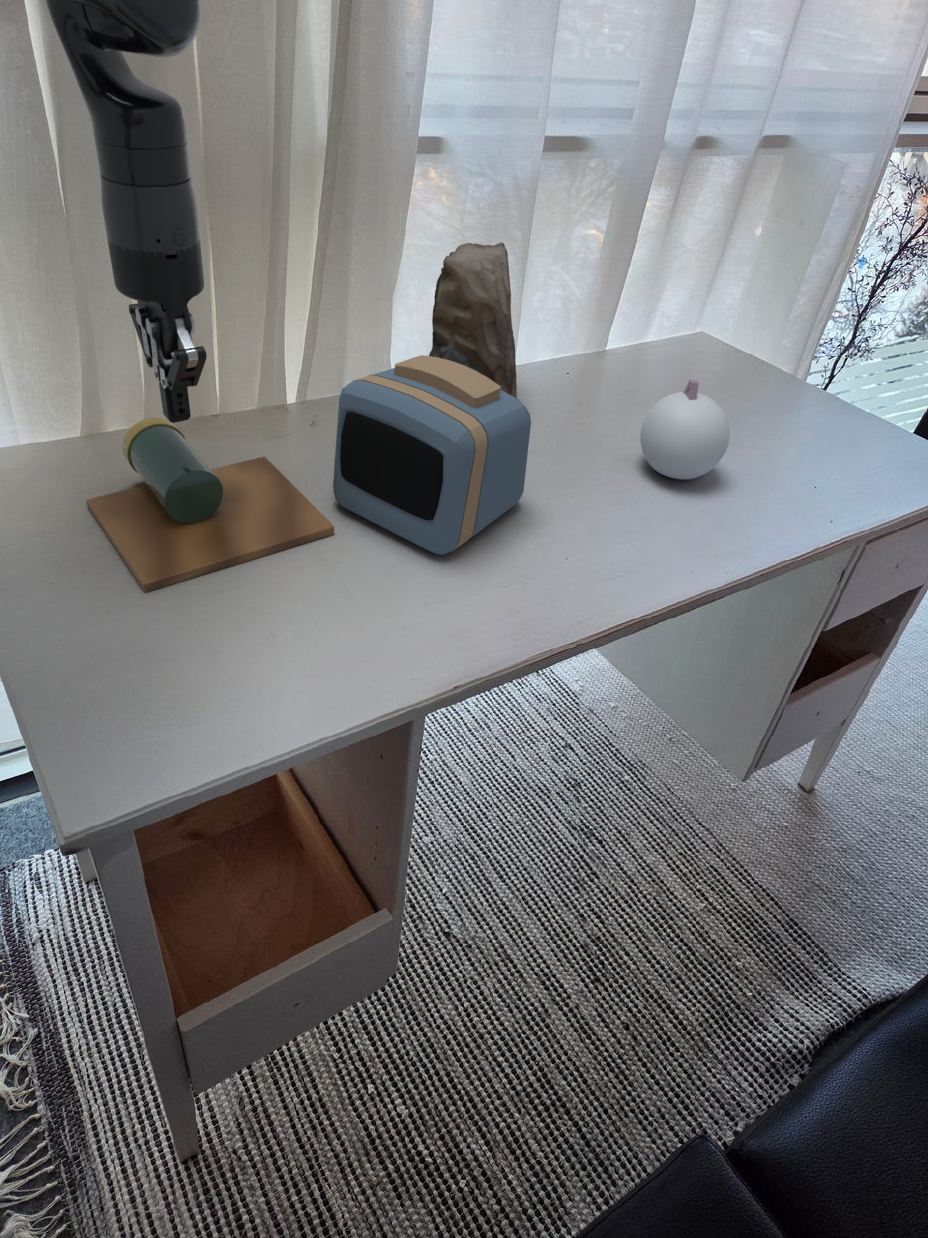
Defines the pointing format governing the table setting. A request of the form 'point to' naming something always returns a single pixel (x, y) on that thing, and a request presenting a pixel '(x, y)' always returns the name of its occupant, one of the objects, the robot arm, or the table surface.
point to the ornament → (685, 434)
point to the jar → (172, 470)
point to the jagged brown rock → (476, 313)
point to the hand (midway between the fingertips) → (177, 418)
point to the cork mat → (209, 525)
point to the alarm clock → (430, 451)
